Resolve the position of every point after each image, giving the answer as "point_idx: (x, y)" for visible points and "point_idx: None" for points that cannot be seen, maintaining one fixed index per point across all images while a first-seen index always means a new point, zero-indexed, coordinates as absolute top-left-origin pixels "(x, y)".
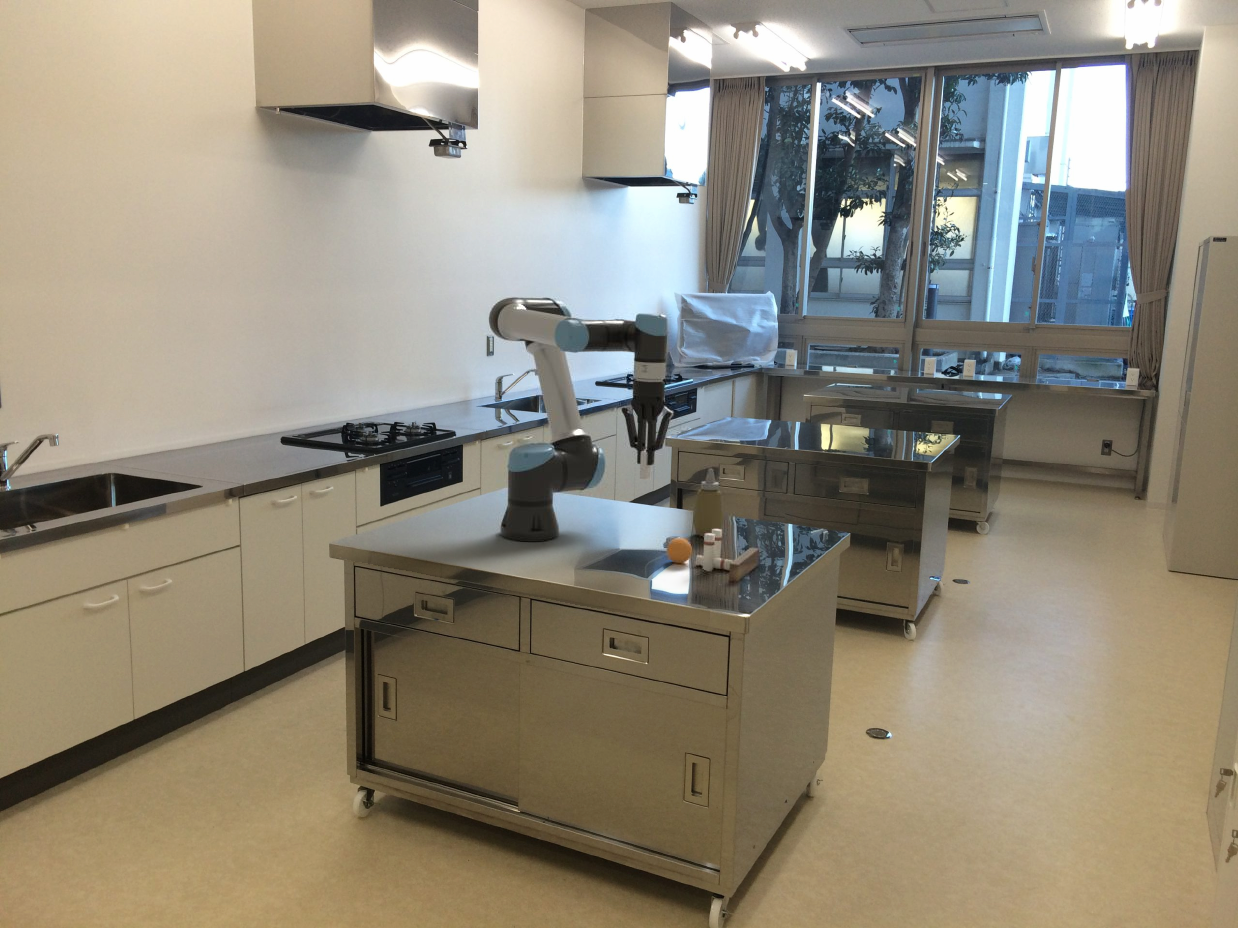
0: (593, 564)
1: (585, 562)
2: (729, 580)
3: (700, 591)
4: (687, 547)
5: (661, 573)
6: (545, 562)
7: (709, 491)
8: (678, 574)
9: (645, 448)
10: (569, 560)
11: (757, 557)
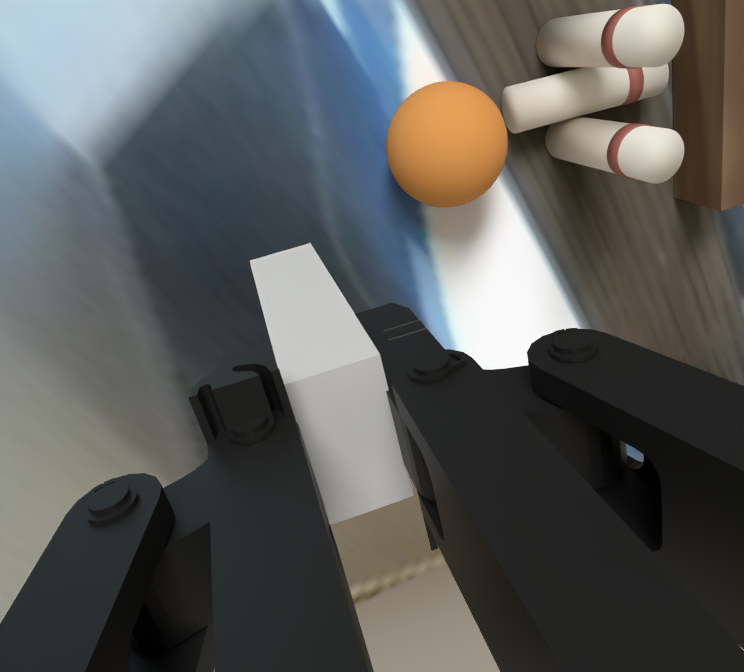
0: None
1: (155, 426)
2: (676, 197)
3: None
4: (505, 158)
5: (453, 311)
6: None
7: None
8: (506, 274)
9: (279, 391)
10: (90, 456)
11: None
